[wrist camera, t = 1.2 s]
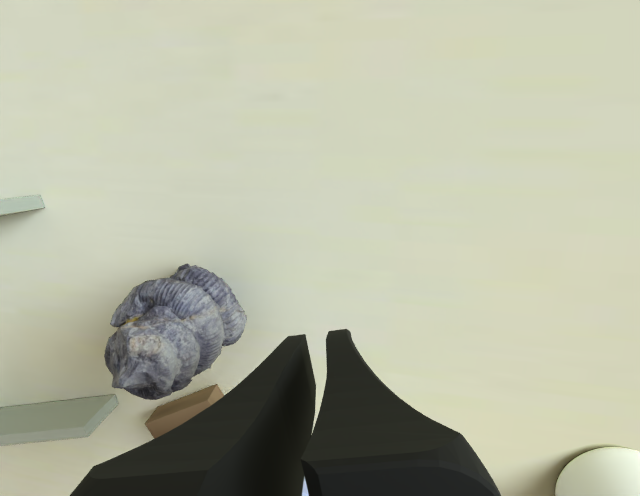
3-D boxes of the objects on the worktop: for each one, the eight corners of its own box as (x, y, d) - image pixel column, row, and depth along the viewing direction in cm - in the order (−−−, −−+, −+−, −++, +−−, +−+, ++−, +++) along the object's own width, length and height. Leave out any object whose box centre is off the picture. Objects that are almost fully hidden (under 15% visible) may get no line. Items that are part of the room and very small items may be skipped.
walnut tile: (251, 435, 25) (243, 458, 23) (194, 455, 25) (182, 479, 23) (218, 380, 24) (207, 400, 22) (160, 403, 24) (144, 424, 22)
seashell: (167, 294, 22) (26, 400, 12) (209, 229, 20) (89, 290, 11) (235, 340, 22) (153, 477, 13) (280, 279, 21) (228, 380, 11)
